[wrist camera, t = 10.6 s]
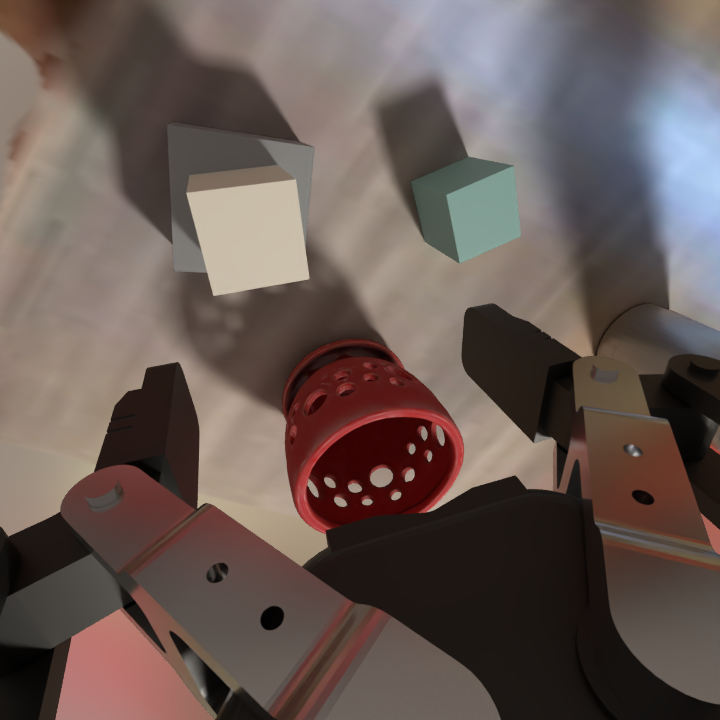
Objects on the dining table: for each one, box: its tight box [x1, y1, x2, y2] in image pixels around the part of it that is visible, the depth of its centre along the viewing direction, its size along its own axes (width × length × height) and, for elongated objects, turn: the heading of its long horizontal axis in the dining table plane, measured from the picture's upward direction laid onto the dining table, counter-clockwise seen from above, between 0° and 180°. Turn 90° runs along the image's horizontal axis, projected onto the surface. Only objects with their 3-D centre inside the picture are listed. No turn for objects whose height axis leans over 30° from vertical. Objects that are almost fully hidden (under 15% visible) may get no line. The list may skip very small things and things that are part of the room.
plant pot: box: [282, 339, 464, 534], centre depth 36 cm, size 13×13×12 cm
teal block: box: [411, 157, 521, 263], centre depth 32 cm, size 5×5×6 cm
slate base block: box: [167, 122, 315, 273], centre depth 28 cm, size 8×8×5 cm
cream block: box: [186, 165, 309, 296], centre depth 24 cm, size 5×5×6 cm
